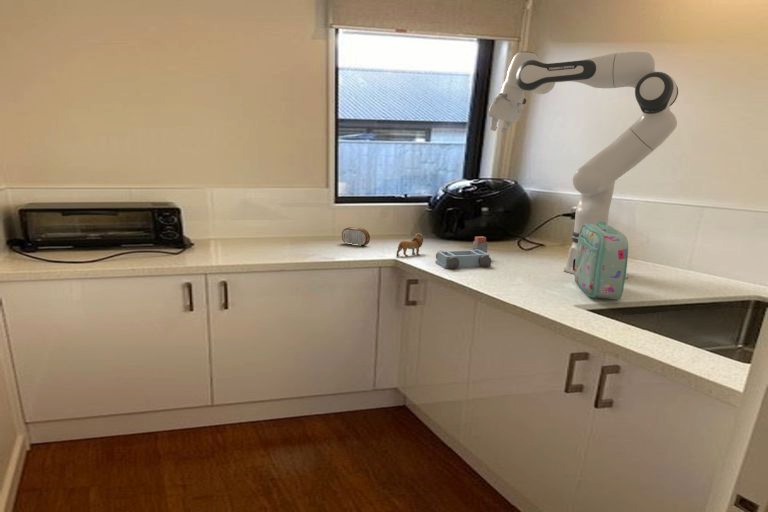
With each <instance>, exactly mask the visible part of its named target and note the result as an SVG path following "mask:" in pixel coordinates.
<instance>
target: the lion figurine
mask: <svg viewBox="0 0 768 512" xmlns="http://www.w3.org/2000/svg"><path fill="white" fill-rule="evenodd" d="M423 243H424V236H423V234H422V233H419V232H418V233H416V234H414V237H413V238H412V240H402V241H401V240H400V242H399V243H398V246H397V250H396V257H400V254H399V253H400V251H402V250H403V255H404V257H407V256H408V257H409V255H408V254H406V253H407V250H411V251H412V252H411V254H412V255H417V256H420V248H421V247H422V246H423ZM415 250H416V252H415ZM408 257H407V258H408Z"/></svg>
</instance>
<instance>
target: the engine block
mask: <svg viewBox="0 0 768 512" xmlns="http://www.w3.org/2000/svg"><path fill="white" fill-rule="evenodd" d="M488 244H489V243H488V241H487V237H486V236H482V235H481V236H474V240H473V241H472V249H473V250H481V251H483V252H485V253H487V254H488Z"/></svg>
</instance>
